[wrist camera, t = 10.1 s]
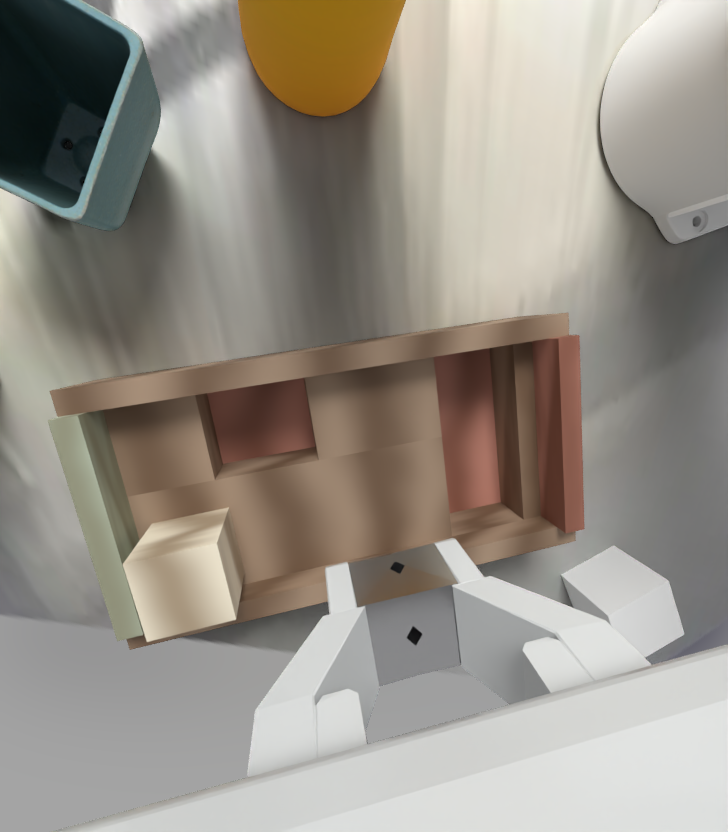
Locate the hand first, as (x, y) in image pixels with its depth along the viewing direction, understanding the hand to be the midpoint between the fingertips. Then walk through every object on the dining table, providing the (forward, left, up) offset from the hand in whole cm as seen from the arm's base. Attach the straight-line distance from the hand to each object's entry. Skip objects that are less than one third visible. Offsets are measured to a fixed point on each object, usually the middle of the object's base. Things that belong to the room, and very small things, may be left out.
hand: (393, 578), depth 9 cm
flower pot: (+11, -18, -24) cm, 32 cm away
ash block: (+10, +8, -19) cm, 23 cm away
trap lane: (-1, +4, -23) cm, 24 cm away
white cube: (-24, +22, -24) cm, 40 cm away
